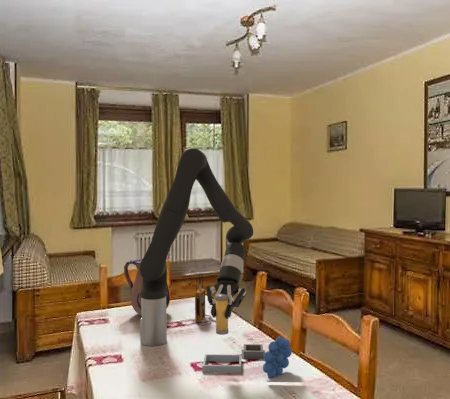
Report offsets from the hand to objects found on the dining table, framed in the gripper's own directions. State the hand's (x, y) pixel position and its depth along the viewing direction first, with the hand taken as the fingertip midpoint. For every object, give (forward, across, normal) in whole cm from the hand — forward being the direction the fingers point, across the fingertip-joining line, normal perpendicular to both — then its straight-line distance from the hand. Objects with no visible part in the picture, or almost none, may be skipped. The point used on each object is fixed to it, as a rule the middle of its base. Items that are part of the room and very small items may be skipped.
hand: (220, 316), depth 134 cm
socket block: (+2, +7, +22) cm, 24 cm away
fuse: (+3, 0, +5) cm, 6 cm away
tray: (+11, 0, +14) cm, 17 cm away
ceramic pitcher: (-21, -52, +45) cm, 72 cm away
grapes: (+11, +17, +14) cm, 25 cm away
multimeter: (-20, -22, +45) cm, 54 cm away
